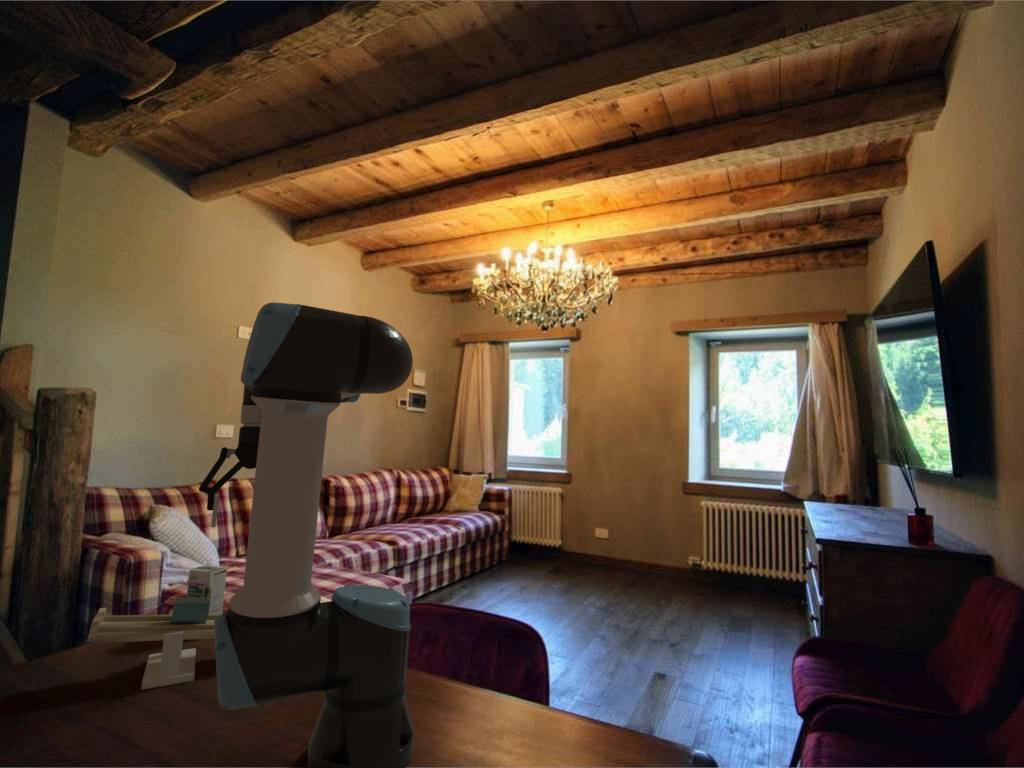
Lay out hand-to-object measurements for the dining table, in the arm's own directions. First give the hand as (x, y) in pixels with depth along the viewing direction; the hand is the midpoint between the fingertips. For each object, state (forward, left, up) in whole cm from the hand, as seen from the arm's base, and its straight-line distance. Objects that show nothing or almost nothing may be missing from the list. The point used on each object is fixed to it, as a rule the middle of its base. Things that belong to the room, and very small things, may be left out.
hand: (249, 525), depth 110 cm
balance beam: (-3, +12, -22) cm, 26 cm away
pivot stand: (-3, +12, -27) cm, 29 cm away
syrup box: (+16, +7, -27) cm, 32 cm away
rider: (-3, +10, -18) cm, 21 cm away
